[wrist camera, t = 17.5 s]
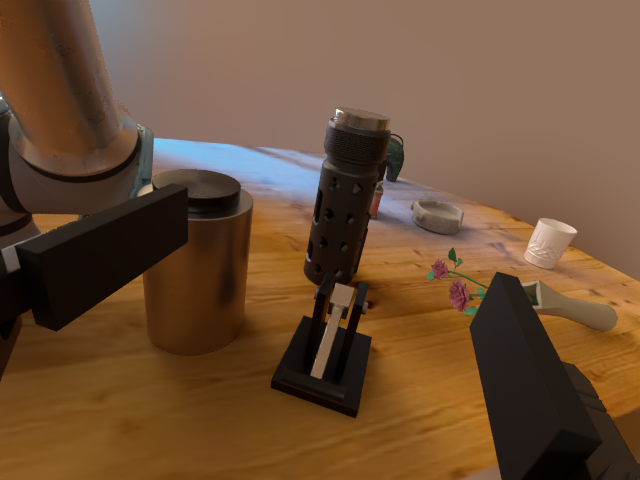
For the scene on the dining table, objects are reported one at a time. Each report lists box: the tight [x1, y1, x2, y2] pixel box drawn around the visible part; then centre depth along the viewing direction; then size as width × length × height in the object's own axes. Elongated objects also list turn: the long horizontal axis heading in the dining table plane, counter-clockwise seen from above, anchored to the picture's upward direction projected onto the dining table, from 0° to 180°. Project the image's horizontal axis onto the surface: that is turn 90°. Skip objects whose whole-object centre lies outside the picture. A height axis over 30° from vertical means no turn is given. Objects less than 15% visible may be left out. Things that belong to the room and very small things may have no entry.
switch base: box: [271, 272, 372, 418], centre depth 40 cm, size 12×10×12 cm
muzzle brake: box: [304, 107, 391, 288], centre depth 55 cm, size 10×28×10 cm
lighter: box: [370, 181, 383, 219], centre depth 90 cm, size 8×3×10 cm, turn 179°
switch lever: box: [281, 283, 355, 404], centre depth 35 cm, size 12×6×2 cm, turn 165°
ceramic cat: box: [385, 134, 404, 181], centre depth 119 cm, size 20×6×20 cm, turn 107°
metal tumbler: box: [137, 169, 253, 355], centre depth 41 cm, size 12×12×20 cm
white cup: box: [524, 218, 577, 269], centre depth 80 cm, size 8×8×10 cm
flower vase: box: [427, 248, 618, 332], centre depth 56 cm, size 12×12×35 cm
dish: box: [410, 200, 464, 234], centre depth 92 cm, size 14×14×5 cm
